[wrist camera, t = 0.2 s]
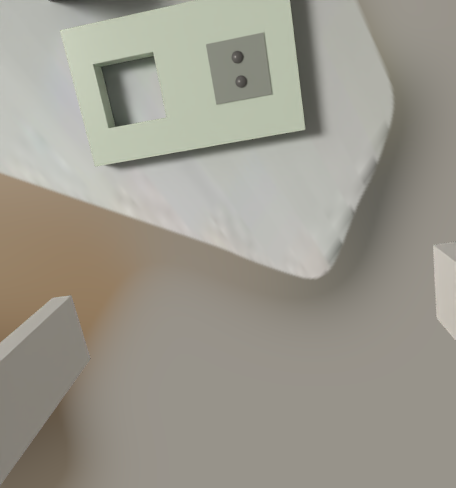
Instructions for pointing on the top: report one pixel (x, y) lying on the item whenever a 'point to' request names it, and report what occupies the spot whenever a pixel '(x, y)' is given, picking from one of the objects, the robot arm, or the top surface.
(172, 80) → the outlet plate
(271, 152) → the top surface
